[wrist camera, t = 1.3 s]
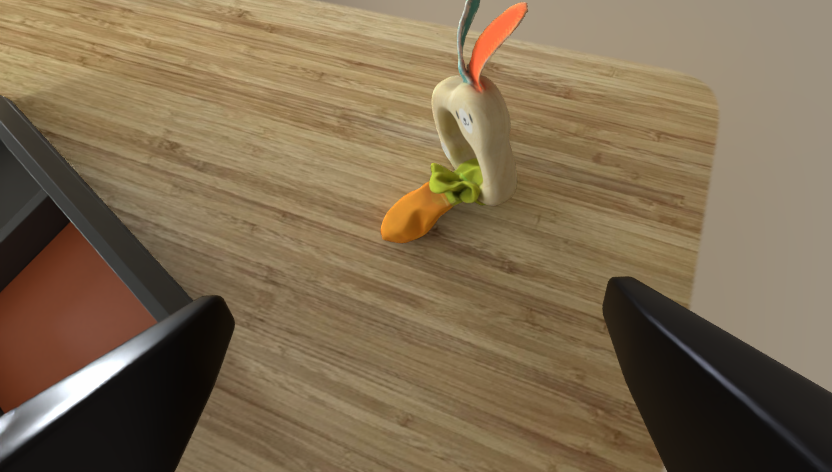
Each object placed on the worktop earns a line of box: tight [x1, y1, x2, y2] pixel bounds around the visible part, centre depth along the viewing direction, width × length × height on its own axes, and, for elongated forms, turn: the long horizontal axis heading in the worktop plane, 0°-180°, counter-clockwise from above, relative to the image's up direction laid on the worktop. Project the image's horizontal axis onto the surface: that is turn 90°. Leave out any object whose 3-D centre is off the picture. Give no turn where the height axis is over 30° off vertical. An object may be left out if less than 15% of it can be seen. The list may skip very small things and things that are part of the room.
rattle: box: [381, 0, 528, 243], centre depth 17 cm, size 8×8×12 cm
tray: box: [0, 95, 193, 416], centre depth 24 cm, size 14×26×3 cm, turn 49°
